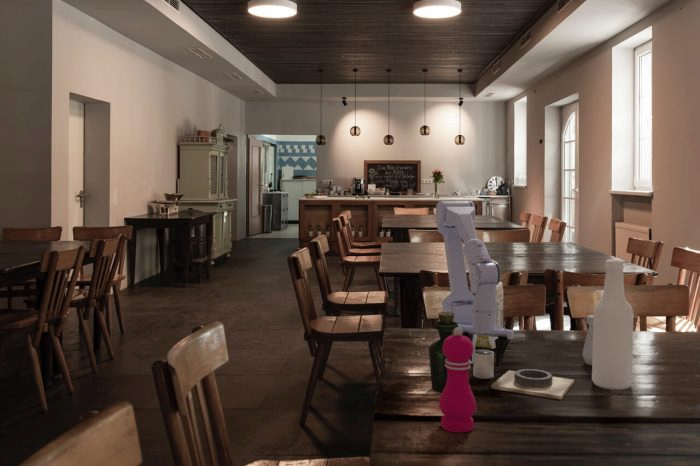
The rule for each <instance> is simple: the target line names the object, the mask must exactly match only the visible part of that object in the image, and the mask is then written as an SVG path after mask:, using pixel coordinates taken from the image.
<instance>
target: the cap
mask: <svg viewBox="0 0 700 466" xmlns="http://www.w3.org/2000/svg"><path fill="white" fill-rule="evenodd" d="M494 353H495V352H494V351H492V350H488V349H475V351H474V356H473V363H472V365H473V369H472V370H473V371H472V372H473V373H472V374H473V377H474V378H477V379H481V380H482V379H485V380H486V379H492V378H494V372H495V371H494V366H495V365H494V363H495V358H494V357H495V354H494Z"/></svg>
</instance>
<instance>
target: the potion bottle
mask: <svg viewBox="0 0 700 466" xmlns="http://www.w3.org/2000/svg"><path fill="white" fill-rule="evenodd" d="M437 315H438V320H439V321H436V322H434V325H433V329H435V330H437V331H438V338H439V337H440V340H439V339H438V340H436V341H435V342H433V343H431V344H430V346H429V347H428V355H429V370H430V379H431V380H430V382H431V389H432V390H433V391H434V392H436V393H439V394H442V392H443V390H444V388H445V385H446V382H447V374H448V372H447V368H446V367H445V363H446V362H445V359H447V357H446V356H445V355H444V353H443V343H444V341H445V339H446V338H447V337H449V336H451V335H454V332H453V331H454V329H455V328H457V327H458V324H457V323H456V322H453V319H454V313H451V312H442V311H440V312H438V313H437Z"/></svg>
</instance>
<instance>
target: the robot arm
mask: <svg viewBox="0 0 700 466" xmlns="http://www.w3.org/2000/svg"><path fill="white" fill-rule="evenodd" d="M434 215H435V216H434V217H435V221H436V222H435V224H436V228H437V233H439V234H441V235H442V237H443V241H444V242H443V243H444V250H445V258H446V267H447V273H448V281H449V282H448V283H449V290H450V293H449V294H448V295H447V296H445V297H444V298H443V300H442V303H441V307H442V309H441V312H451V313H454V319H453V322H456V323H457V324H458V327H459V328H461V329H462V331H463V333H462V335H463V336H466V337H468V338H469V339H470V340H471V342H472V344H473V354H472V356H471V357H470V358H469V360H470V361H471V363H470V365H473V356H474V351H475V350H476V347H475V335H484V336H492V337H498V338H497V339H496V340H495V346H496V348H495V367H496V368H500V367H501V366H502V363H503V357H504V354H505V352H506V349H507V347H508V345H509V343H510V341H511V340H512V339H514V337H515V336H514V335H515V334H514V333H515V332H514V331H515V330H513V329H507V328H504V327H503V328H498V327H496V285H498V284H499V282H501V276H502V275H501V273H502V272H501V269H500V264H499V263H498V262H497V261H495V260H494V259H492V258H491V256H490V253H489V251H488V249H487V246H486V243H485V242H484V241H483V240H481V239H479V238H478V234H477V231H476V227H475V224H474V221H475V218H476V206H475V204H474V202H473V200H469V199H468V200H438V202H437V203H436V207H435V214H434ZM463 243H464V246H463ZM465 259H466V261H465ZM465 262H467V265H468V266H469V271H468V275H467V271H466V270H467V269H466V263H465ZM467 276H468V277H467ZM468 278H469V283H470V290H469V284H468ZM438 340H440V337H439V336H438Z"/></svg>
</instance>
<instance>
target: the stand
mask: <svg viewBox="0 0 700 466" xmlns="http://www.w3.org/2000/svg"><path fill="white" fill-rule="evenodd" d="M574 384H575V379H570V378H567V377H566V378H564V377H559V376H558V377H557V376H553V374H551V372H549V371H546V370H542V369H536V368H530V369H529V368H526V369H525V368H523V369H518V370H511V369H510V370H507V371H506V372H505V373H504V374H503V375H502V376H500V377H499V378H498V379H497V380H495V382H493V383H492V384H491V386H490V389H492V390H493V389H494V390H499V391H505V392H511V393H517V394H525V395H530V396H536V397H543V398H549V399H556V400H562V399H563V398H564V397H565V395H567V393H568V391H569V390H570V389H571V388H572V386H573V385H574Z"/></svg>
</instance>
